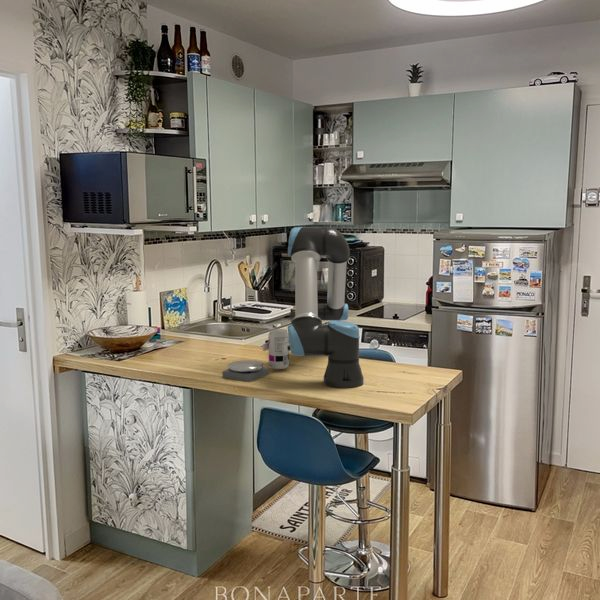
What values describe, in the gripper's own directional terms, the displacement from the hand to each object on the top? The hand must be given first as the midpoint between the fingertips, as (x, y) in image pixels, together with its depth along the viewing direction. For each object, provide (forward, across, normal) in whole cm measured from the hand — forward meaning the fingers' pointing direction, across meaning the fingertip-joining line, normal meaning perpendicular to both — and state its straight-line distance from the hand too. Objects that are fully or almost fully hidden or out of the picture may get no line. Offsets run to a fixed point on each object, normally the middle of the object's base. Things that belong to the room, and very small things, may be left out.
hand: (273, 348), depth 255 cm
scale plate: (+9, +8, -9) cm, 15 cm away
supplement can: (-5, 0, -9) cm, 10 cm away
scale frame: (+9, +8, -10) cm, 15 cm away
